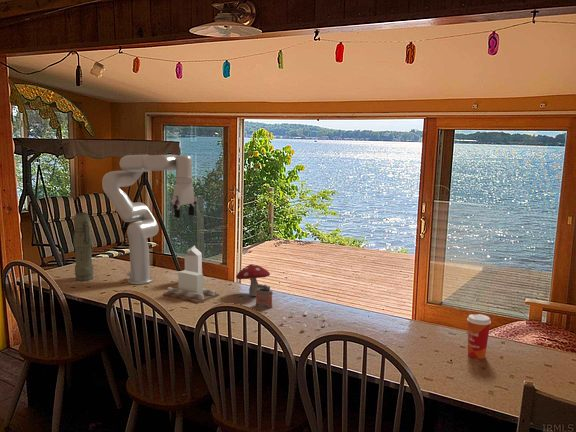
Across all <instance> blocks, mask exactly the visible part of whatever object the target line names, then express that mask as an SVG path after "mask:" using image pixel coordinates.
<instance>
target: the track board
mask: <svg viewBox="0 0 576 432" xmlns="http://www.w3.org/2000/svg"><path fill="white" fill-rule="evenodd" d="M163 296H165V297H171V298H175V299H177V300H183V301H187V302H192V303H196V304H200V303H203V302H205V301H209V300H211V299H213V298H216V297H219V293H217V292H216V291H215V290H212V289H208V288H203V295H202V294H198V293H193V292H189V291H184V290H180V289H179V287H178V288H175V287H170V286H169V287H167V291H165V292H163Z"/></svg>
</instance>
